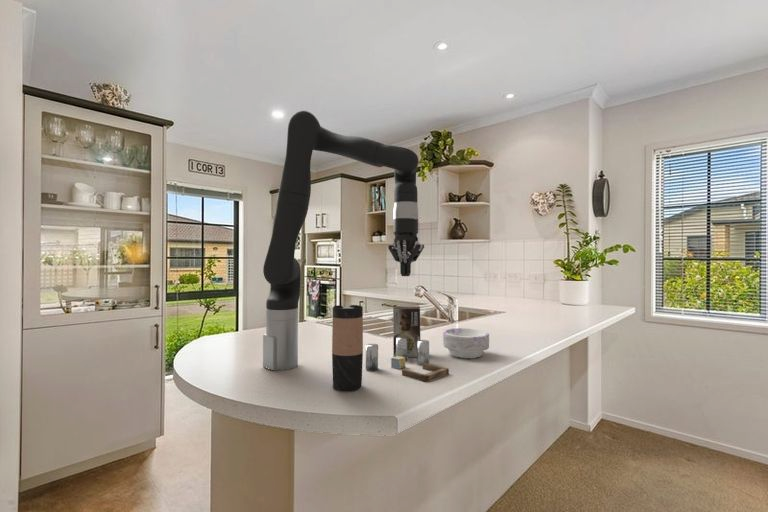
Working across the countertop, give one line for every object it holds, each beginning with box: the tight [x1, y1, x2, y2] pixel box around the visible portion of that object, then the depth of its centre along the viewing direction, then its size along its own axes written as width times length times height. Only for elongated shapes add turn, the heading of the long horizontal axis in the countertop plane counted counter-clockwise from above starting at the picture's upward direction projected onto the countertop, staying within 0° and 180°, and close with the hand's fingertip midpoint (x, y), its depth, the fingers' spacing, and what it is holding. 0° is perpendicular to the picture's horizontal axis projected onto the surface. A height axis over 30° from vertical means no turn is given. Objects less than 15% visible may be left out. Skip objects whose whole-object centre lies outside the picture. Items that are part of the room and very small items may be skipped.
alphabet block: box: [390, 356, 406, 370], centre depth 111 cm, size 3×3×3 cm
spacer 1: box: [365, 343, 379, 372], centre depth 109 cm, size 4×4×7 cm
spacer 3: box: [416, 339, 430, 367], centre depth 115 cm, size 4×4×7 cm
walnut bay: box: [401, 363, 450, 383], centre depth 104 cm, size 10×8×2 cm
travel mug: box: [331, 304, 364, 393], centre depth 94 cm, size 8×8×20 cm
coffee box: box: [392, 305, 421, 358], centre depth 126 cm, size 9×6×16 cm
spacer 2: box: [396, 337, 408, 362], centre depth 120 cm, size 4×4×7 cm
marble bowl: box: [442, 327, 490, 359], centre depth 126 cm, size 15×15×8 cm
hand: (405, 276), depth 112 cm, fingers closed
